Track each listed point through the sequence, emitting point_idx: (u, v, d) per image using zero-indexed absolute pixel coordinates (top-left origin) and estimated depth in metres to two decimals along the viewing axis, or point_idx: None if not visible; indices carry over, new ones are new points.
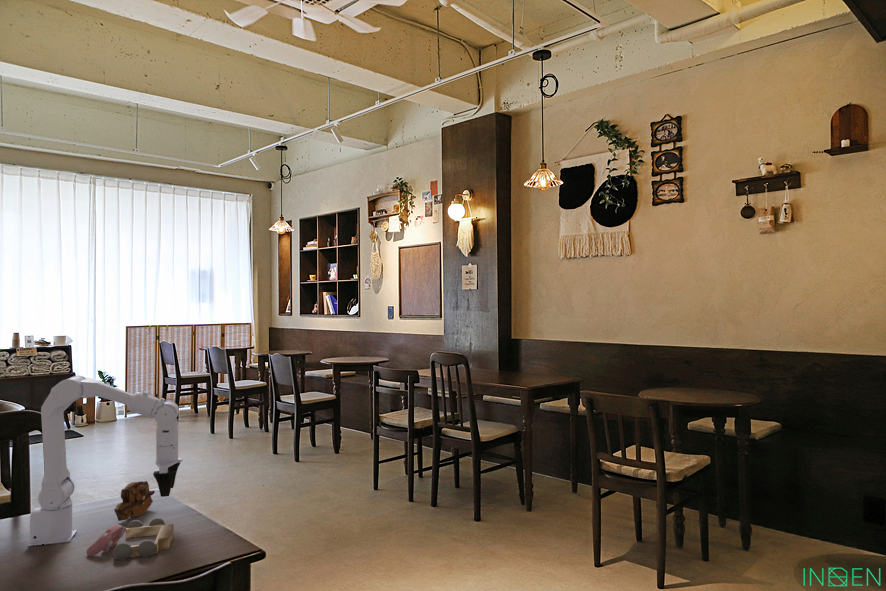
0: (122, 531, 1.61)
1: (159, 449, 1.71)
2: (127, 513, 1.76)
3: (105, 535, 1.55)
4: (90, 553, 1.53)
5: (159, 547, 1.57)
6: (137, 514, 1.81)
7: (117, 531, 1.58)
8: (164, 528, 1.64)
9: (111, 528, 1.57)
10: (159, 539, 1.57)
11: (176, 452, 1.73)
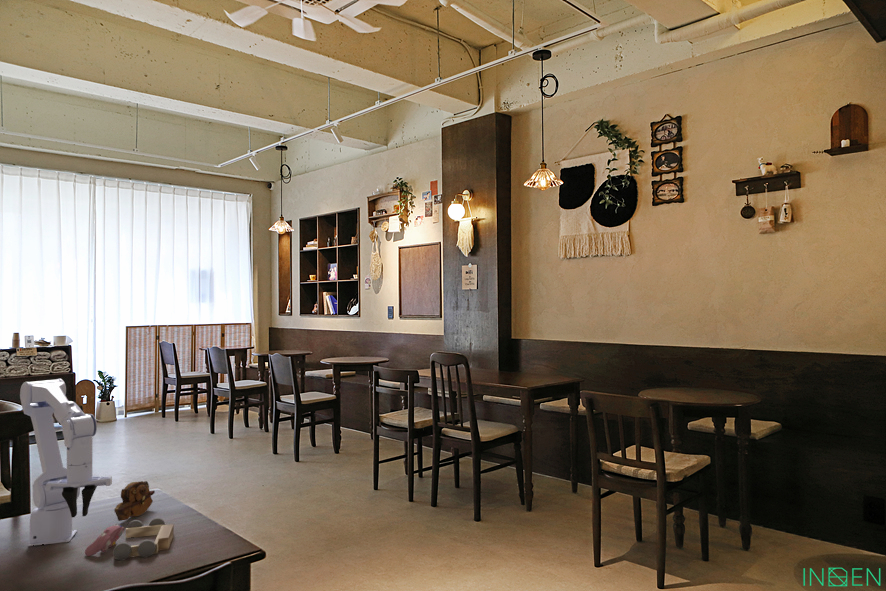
0: (120, 531, 1.61)
1: None
2: (127, 513, 1.76)
3: (103, 535, 1.55)
4: (88, 553, 1.53)
5: (159, 547, 1.57)
6: (137, 514, 1.81)
7: (115, 531, 1.58)
8: (164, 528, 1.64)
9: (109, 528, 1.57)
10: (159, 539, 1.57)
11: (71, 474, 1.54)
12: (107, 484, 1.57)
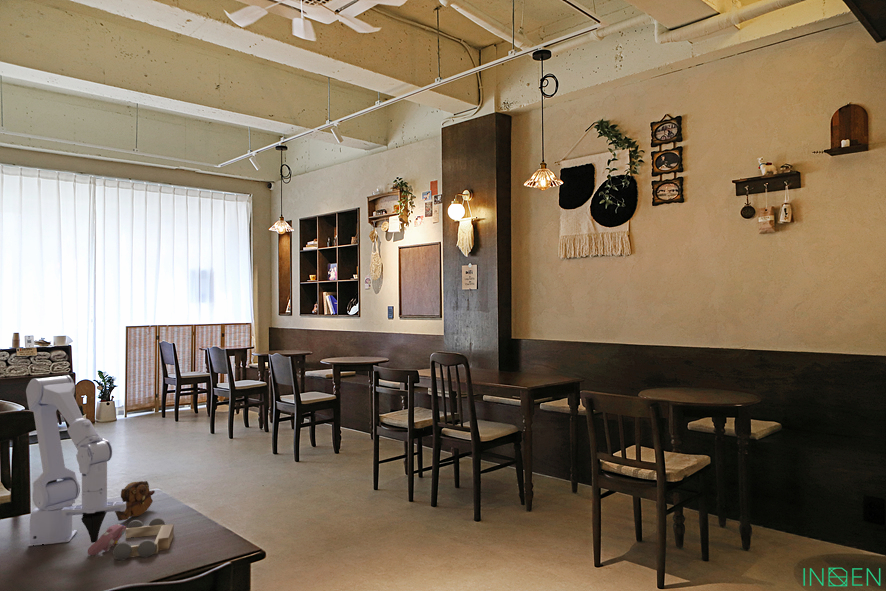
0: (123, 530, 1.61)
1: None
2: (127, 513, 1.76)
3: (106, 534, 1.55)
4: (91, 552, 1.54)
5: (159, 547, 1.57)
6: (137, 514, 1.81)
7: (118, 530, 1.59)
8: (164, 528, 1.64)
9: (112, 527, 1.58)
10: (159, 539, 1.57)
11: (86, 500, 1.54)
12: (122, 510, 1.58)
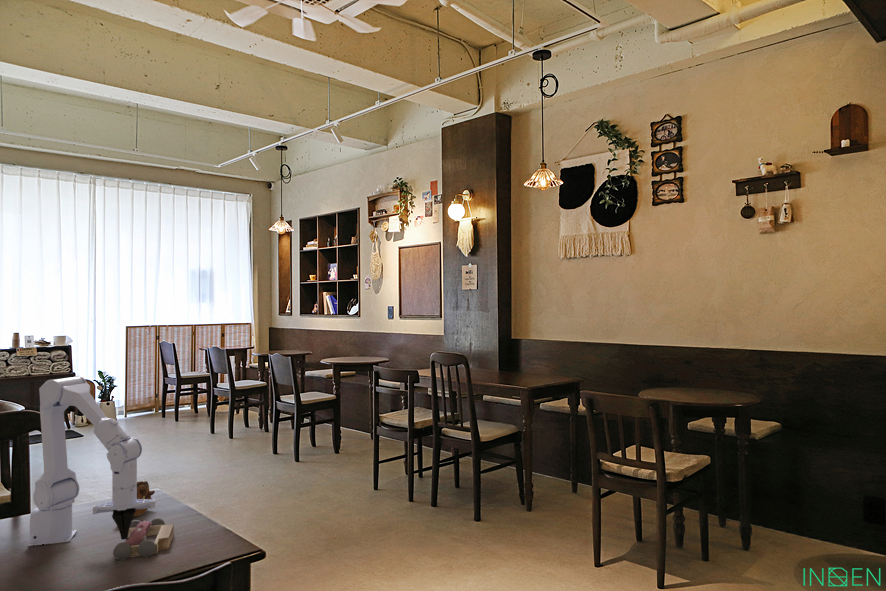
0: (150, 526, 1.64)
1: None
2: None
3: (140, 530, 1.58)
4: None
5: (159, 547, 1.57)
6: (137, 514, 1.81)
7: (147, 526, 1.62)
8: (164, 528, 1.64)
9: (142, 523, 1.60)
10: (159, 539, 1.57)
11: (117, 498, 1.57)
12: (151, 507, 1.60)
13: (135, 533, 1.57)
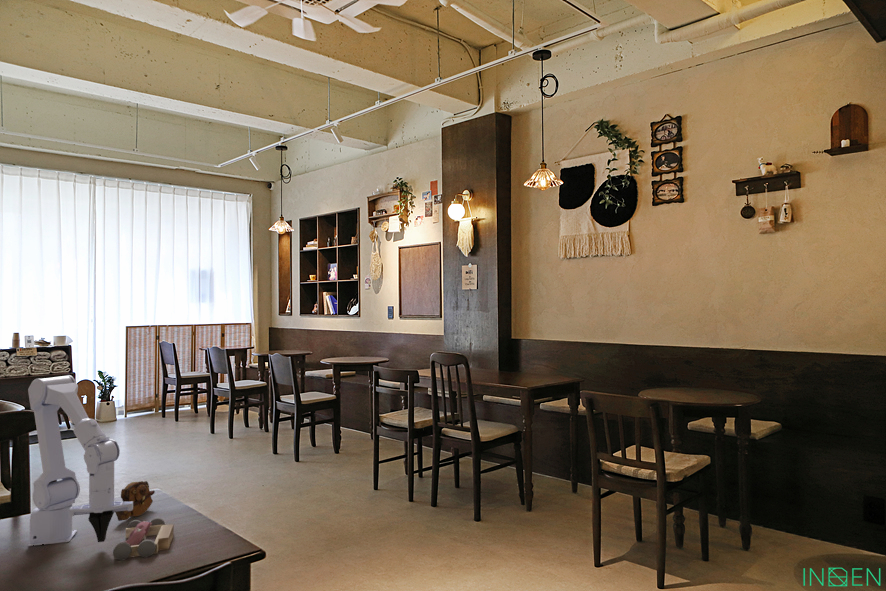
0: (149, 526, 1.64)
1: None
2: (127, 513, 1.76)
3: (139, 530, 1.58)
4: None
5: (159, 547, 1.57)
6: (137, 514, 1.81)
7: (147, 526, 1.62)
8: (164, 528, 1.64)
9: (142, 524, 1.60)
10: (159, 539, 1.57)
11: (94, 500, 1.55)
12: (129, 509, 1.59)
13: (135, 533, 1.57)
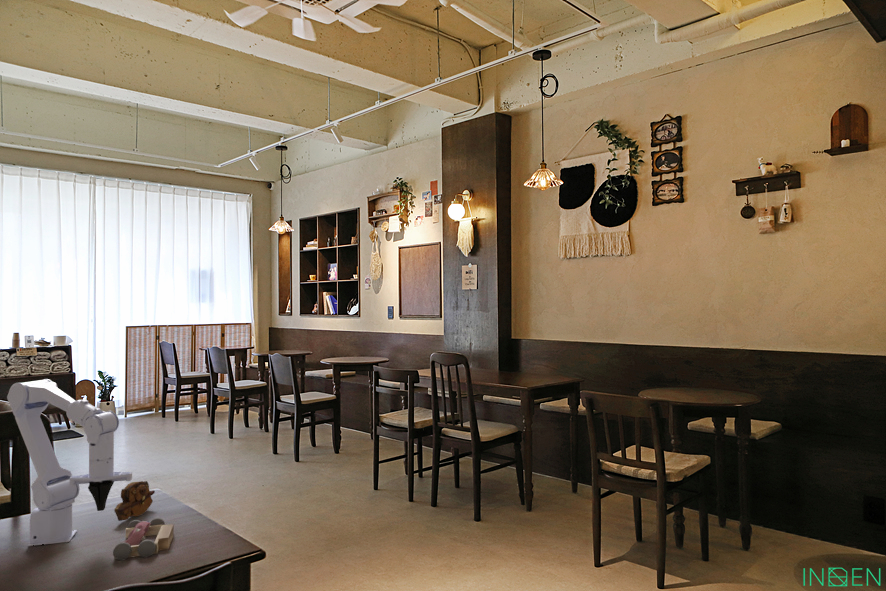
0: (148, 527, 1.64)
1: None
2: (127, 513, 1.76)
3: (138, 530, 1.58)
4: None
5: (159, 547, 1.57)
6: (137, 514, 1.81)
7: (146, 526, 1.62)
8: (164, 528, 1.64)
9: (141, 524, 1.60)
10: (159, 539, 1.57)
11: (93, 469, 1.58)
12: (128, 479, 1.62)
13: (134, 533, 1.57)
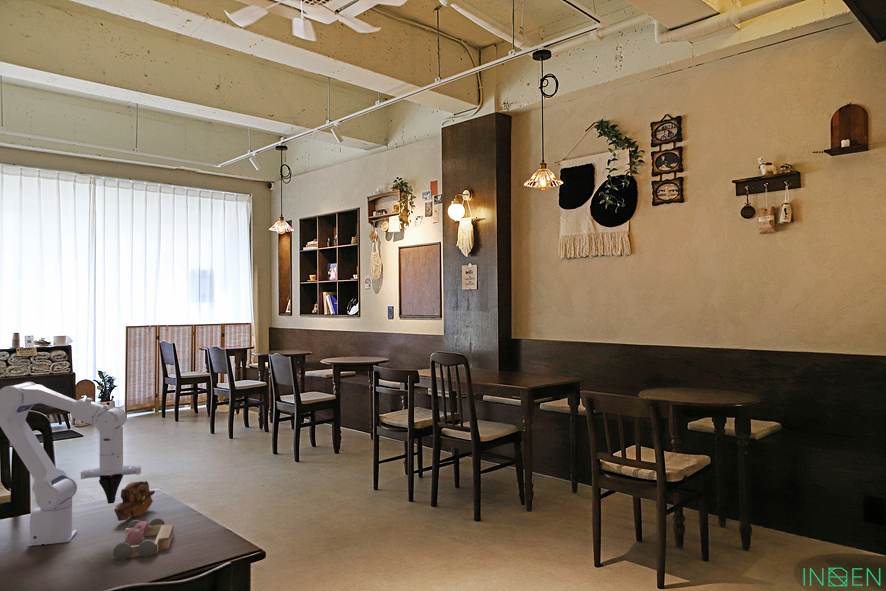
0: (148, 526, 1.64)
1: None
2: (127, 513, 1.76)
3: (137, 531, 1.58)
4: None
5: (159, 547, 1.57)
6: (137, 514, 1.81)
7: (145, 527, 1.61)
8: (164, 528, 1.64)
9: (140, 524, 1.60)
10: (159, 539, 1.57)
11: (104, 463, 1.64)
12: (137, 473, 1.68)
13: (133, 534, 1.57)
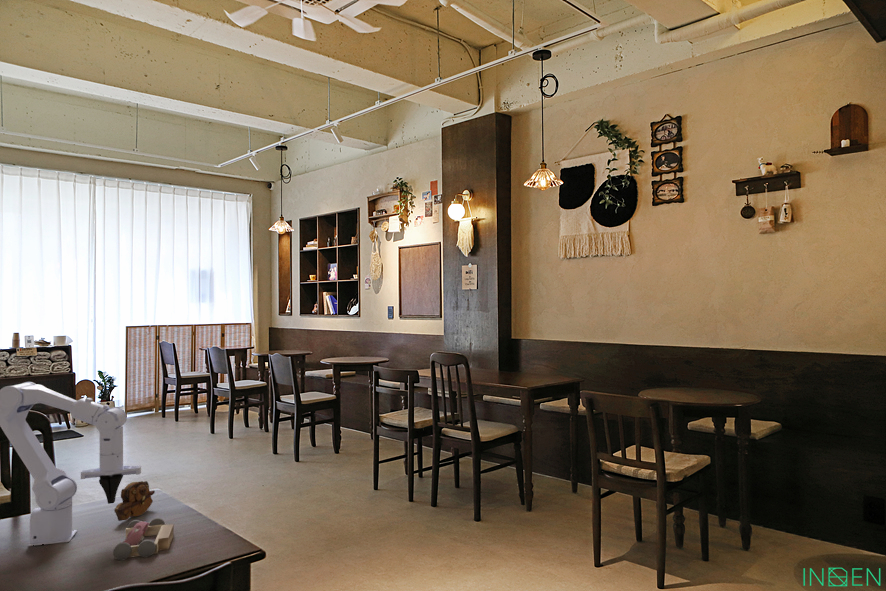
0: (147, 527, 1.64)
1: None
2: (127, 513, 1.76)
3: (137, 531, 1.58)
4: None
5: (159, 547, 1.57)
6: (137, 514, 1.81)
7: (145, 527, 1.61)
8: (164, 528, 1.64)
9: (139, 524, 1.60)
10: (159, 539, 1.57)
11: (104, 463, 1.64)
12: (137, 473, 1.68)
13: (132, 534, 1.57)
